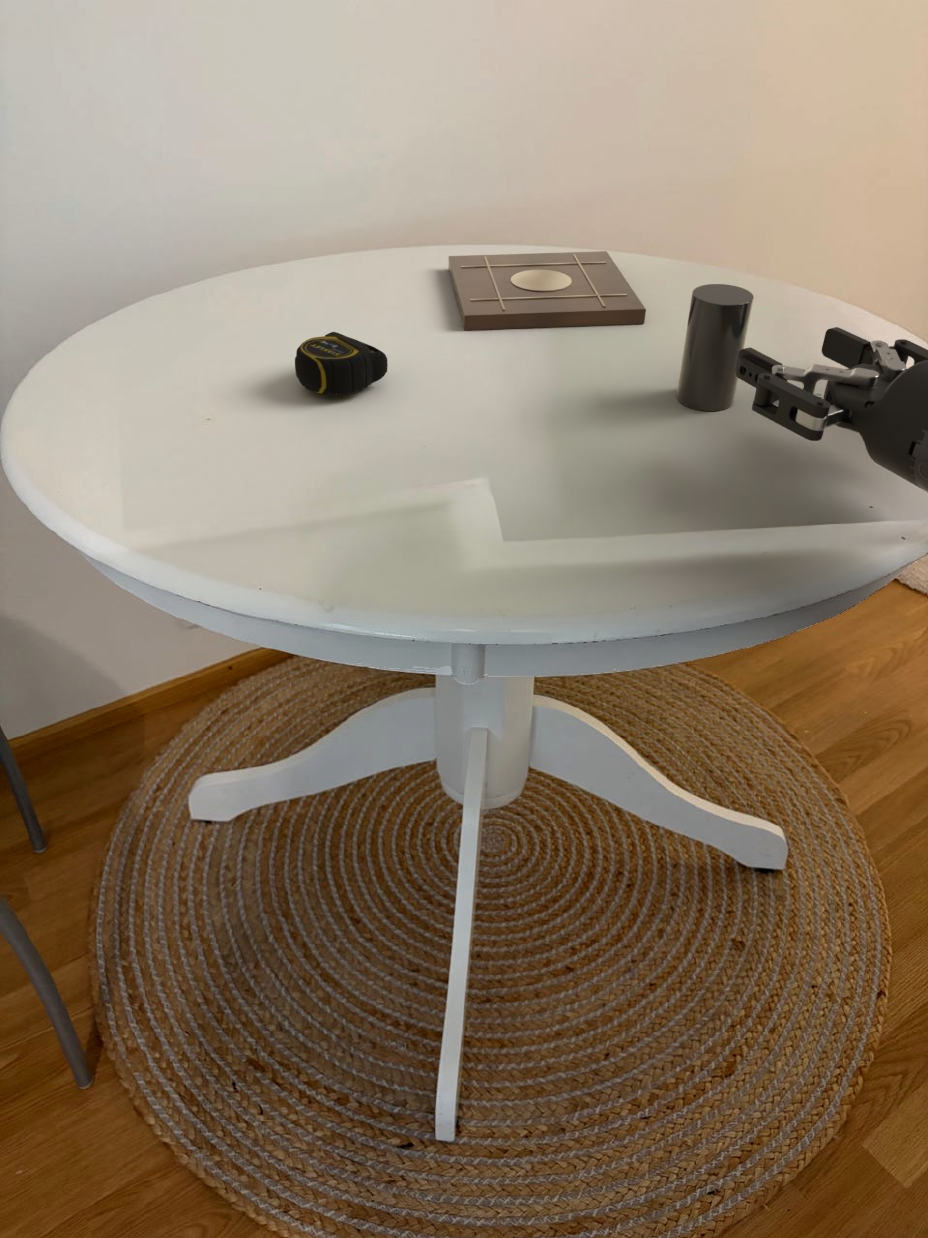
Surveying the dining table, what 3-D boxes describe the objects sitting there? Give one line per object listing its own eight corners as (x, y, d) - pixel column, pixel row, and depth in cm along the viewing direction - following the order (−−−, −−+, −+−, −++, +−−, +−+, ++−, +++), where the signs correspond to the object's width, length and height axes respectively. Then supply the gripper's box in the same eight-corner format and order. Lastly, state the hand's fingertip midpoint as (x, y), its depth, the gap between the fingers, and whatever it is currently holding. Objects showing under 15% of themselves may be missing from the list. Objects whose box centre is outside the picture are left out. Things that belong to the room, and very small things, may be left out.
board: (605, 264, 109) (606, 249, 108) (644, 323, 95) (646, 308, 94) (448, 269, 107) (448, 254, 106) (464, 330, 93) (464, 314, 92)
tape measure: (392, 386, 83) (391, 345, 81) (332, 411, 79) (329, 369, 77) (341, 364, 87) (338, 324, 85) (281, 387, 83) (276, 346, 81)
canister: (723, 385, 84) (742, 282, 78) (741, 409, 80) (762, 303, 74) (670, 387, 83) (685, 284, 78) (685, 412, 79) (702, 305, 74)
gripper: (1059, 363, 61) (866, 284, 72) (899, 409, 56) (718, 317, 67) (1016, 466, 66) (841, 378, 77) (865, 518, 60) (701, 415, 71)
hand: (784, 349), depth 72 cm, fingers open, 8 cm apart
